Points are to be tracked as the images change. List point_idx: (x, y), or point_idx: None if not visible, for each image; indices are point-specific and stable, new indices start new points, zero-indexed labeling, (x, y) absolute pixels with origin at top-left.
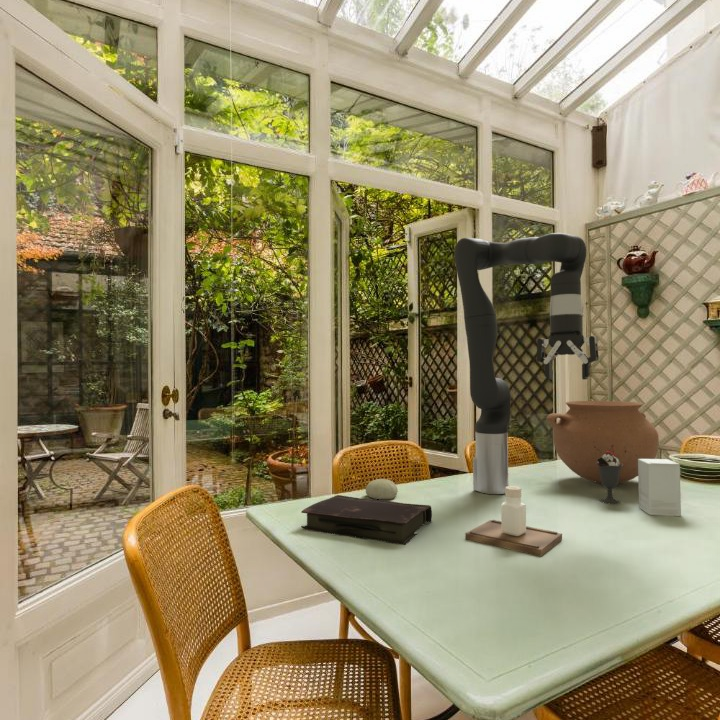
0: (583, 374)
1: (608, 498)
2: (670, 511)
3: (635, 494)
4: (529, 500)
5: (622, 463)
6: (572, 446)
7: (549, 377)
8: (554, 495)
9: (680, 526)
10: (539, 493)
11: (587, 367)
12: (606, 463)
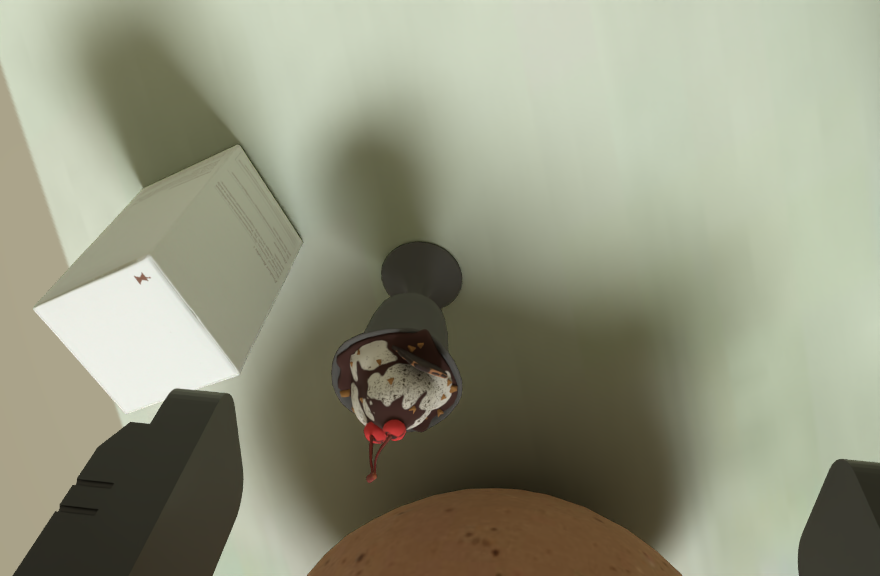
0: (170, 436)
1: (422, 272)
2: (165, 179)
3: None
4: (764, 113)
5: (387, 517)
6: (617, 571)
7: (851, 471)
8: (660, 267)
9: (97, 33)
10: (734, 270)
11: (41, 571)
12: (397, 347)
